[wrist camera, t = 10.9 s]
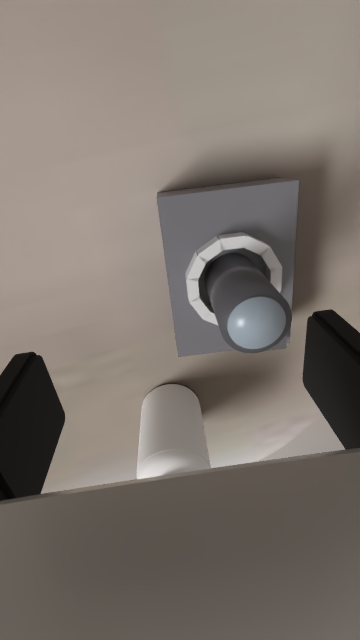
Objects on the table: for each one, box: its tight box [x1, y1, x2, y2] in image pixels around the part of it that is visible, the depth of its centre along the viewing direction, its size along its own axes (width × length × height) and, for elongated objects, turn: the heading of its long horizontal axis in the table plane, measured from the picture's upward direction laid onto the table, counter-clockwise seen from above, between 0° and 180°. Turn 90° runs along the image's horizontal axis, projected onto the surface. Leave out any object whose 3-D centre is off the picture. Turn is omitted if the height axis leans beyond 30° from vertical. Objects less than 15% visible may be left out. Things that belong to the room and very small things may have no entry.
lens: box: [205, 253, 292, 353], centre depth 25 cm, size 5×5×9 cm
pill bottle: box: [137, 384, 211, 479], centre depth 36 cm, size 8×8×15 cm
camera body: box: [157, 178, 299, 357], centre depth 31 cm, size 16×12×7 cm
